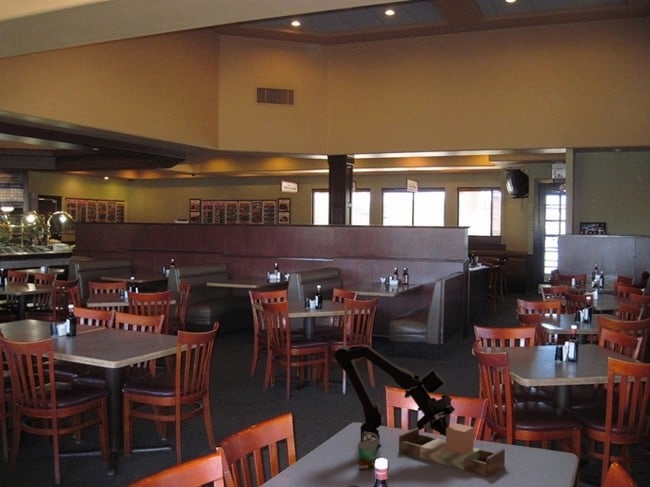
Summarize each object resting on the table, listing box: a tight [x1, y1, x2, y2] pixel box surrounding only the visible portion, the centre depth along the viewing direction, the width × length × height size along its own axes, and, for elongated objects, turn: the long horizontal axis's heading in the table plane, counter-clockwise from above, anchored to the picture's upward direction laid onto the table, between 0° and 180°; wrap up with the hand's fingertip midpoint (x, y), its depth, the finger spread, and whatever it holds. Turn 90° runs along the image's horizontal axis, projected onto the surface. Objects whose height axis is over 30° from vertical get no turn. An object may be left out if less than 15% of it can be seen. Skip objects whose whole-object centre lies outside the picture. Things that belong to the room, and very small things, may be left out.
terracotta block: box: [445, 422, 475, 455], centre depth 225 cm, size 7×7×8 cm
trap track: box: [398, 427, 506, 478], centre depth 228 cm, size 36×12×6 cm, turn 50°
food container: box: [358, 432, 379, 471], centre depth 220 cm, size 12×6×10 cm, turn 168°
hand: (450, 437), depth 228 cm, fingers closed
